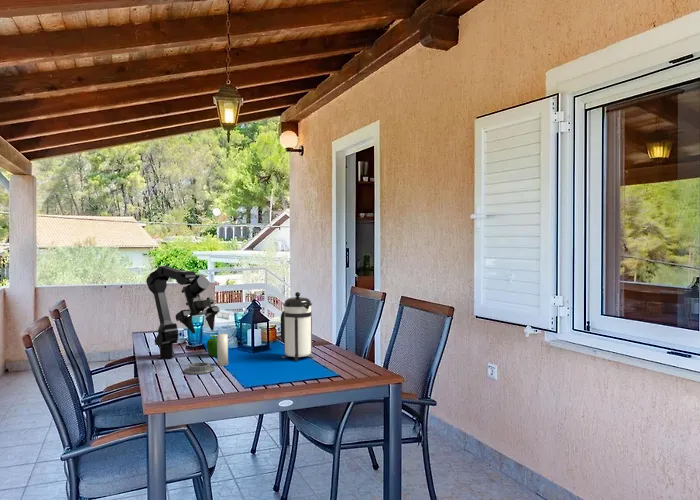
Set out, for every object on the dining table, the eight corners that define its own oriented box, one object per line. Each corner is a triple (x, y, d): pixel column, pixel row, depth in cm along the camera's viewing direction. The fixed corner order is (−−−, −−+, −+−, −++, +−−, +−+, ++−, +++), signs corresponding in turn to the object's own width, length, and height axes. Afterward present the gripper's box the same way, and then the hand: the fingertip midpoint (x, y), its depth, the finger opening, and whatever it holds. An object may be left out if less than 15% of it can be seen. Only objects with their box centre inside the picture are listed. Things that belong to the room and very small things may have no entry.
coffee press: (317, 353, 249) (316, 290, 249) (311, 361, 233) (310, 293, 233) (281, 353, 251) (280, 290, 250) (273, 361, 235) (272, 293, 234)
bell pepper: (221, 353, 253) (221, 332, 252) (227, 356, 246) (227, 334, 245) (204, 355, 248) (203, 334, 248) (209, 358, 241) (209, 336, 241)
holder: (189, 367, 225) (189, 361, 225) (217, 367, 225) (217, 361, 225) (180, 374, 213) (180, 368, 213) (209, 374, 213) (209, 368, 213)
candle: (219, 363, 232) (218, 333, 232) (229, 363, 232) (228, 333, 232) (216, 365, 228) (216, 335, 227) (226, 365, 227) (226, 335, 227)
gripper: (183, 292, 218) (194, 327, 213) (221, 288, 232) (231, 321, 228) (170, 303, 224) (180, 337, 220) (207, 298, 239) (217, 331, 234)
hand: (203, 331), depth 225 cm, fingers open, 9 cm apart
